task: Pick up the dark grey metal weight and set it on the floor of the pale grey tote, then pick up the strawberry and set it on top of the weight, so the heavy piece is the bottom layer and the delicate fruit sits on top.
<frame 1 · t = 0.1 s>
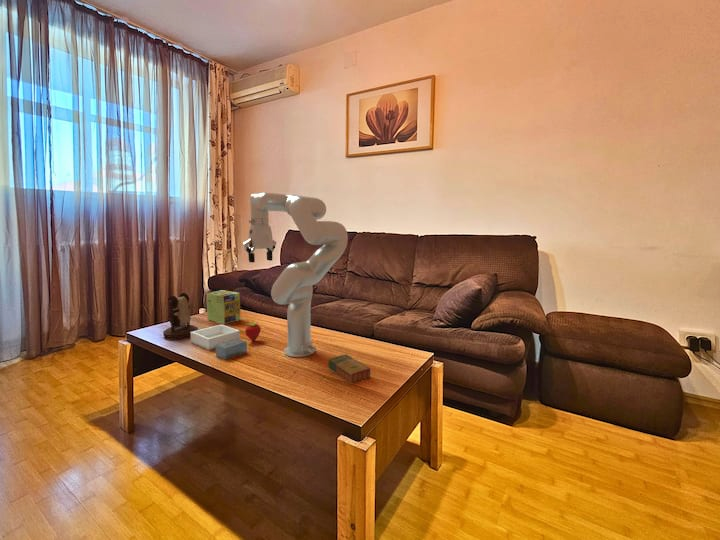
hand: (260, 261, 155), 37 cm above the table, tool pointing down, fingers open, 9 cm apart
metal weight: (231, 354, 142), on the table
tote: (215, 341, 156), on the table
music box: (181, 335, 165), on the table
strawberry: (253, 341, 158), on the table
carton: (348, 374, 126), on the table
protein box: (224, 320, 191), on the table
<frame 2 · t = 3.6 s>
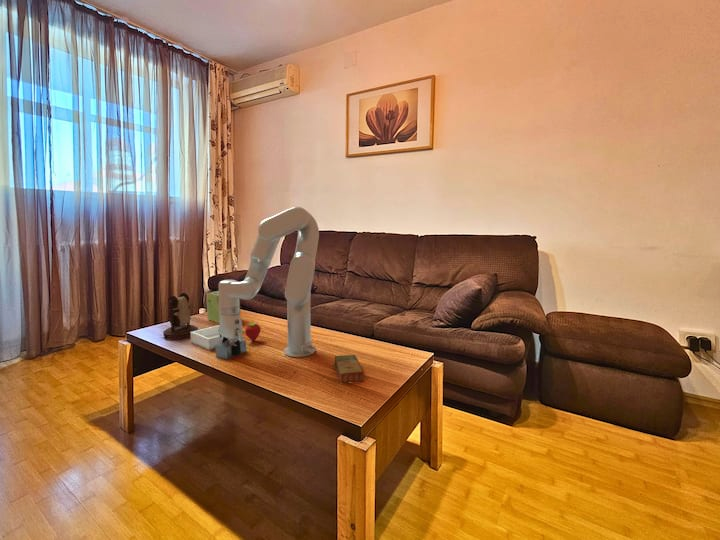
hand: (231, 352, 142), 1 cm above the table, tool pointing down, fingers closed on metal weight, 7 cm apart
metal weight: (231, 354, 142), on the table, touching gripper
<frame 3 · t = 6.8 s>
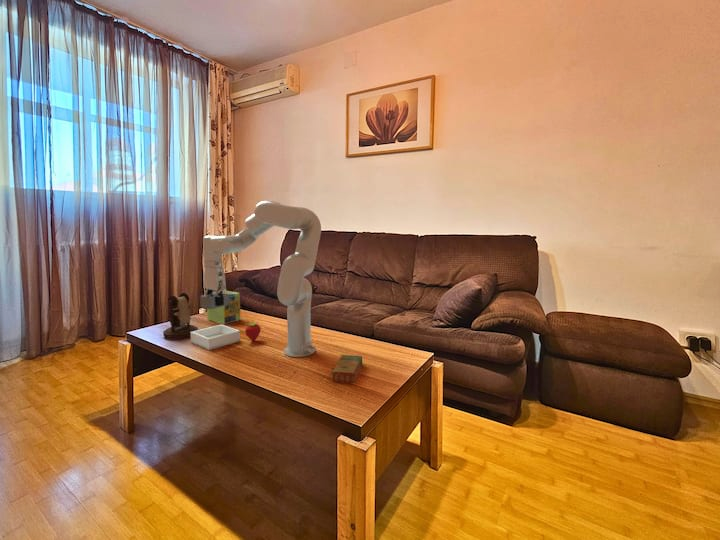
hand: (215, 303, 152), 18 cm above the table, tool pointing down, fingers closed on metal weight, 7 cm apart
metal weight: (215, 305, 153), point 17 cm above the table, touching gripper
when the fingers open (4 cm above the table, at t = 10.2 s): metal weight drops 2 cm, resting on tote.
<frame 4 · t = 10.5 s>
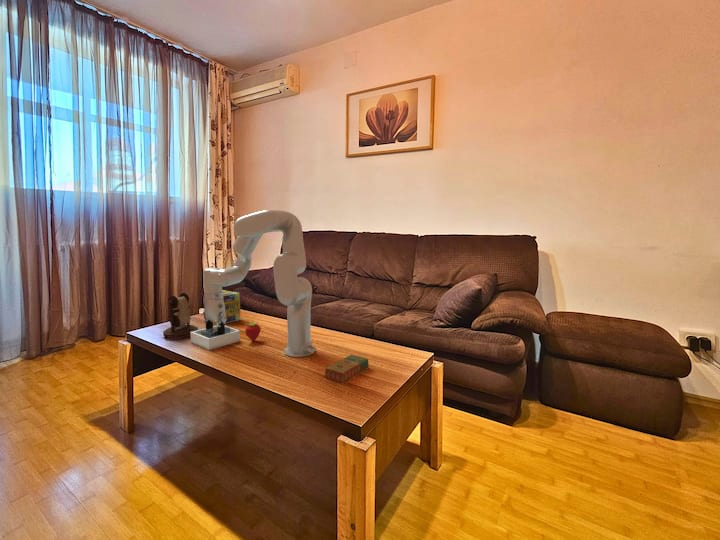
hand: (215, 332, 156), 4 cm above the table, tool pointing down, fingers open, 9 cm apart
metal weight: (216, 339, 156), point 1 cm above the table, touching tote
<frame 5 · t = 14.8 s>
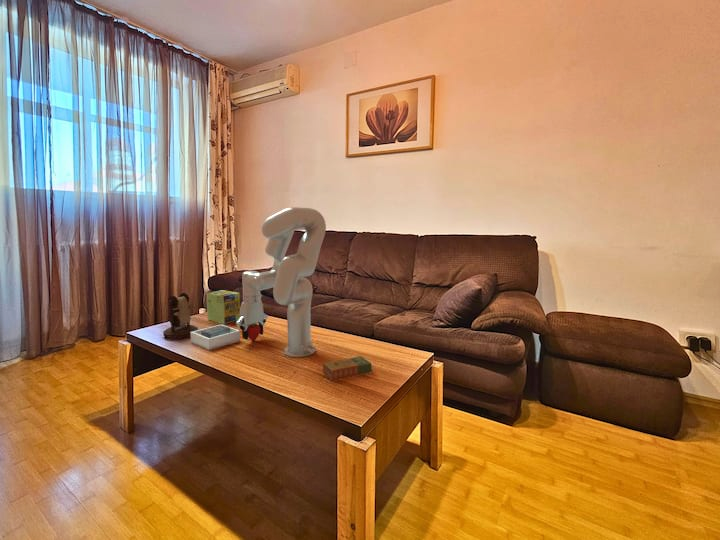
hand: (253, 336, 157), 2 cm above the table, tool pointing down, fingers closed on strawberry, 7 cm apart
strawberry: (253, 341, 158), on the table, touching gripper
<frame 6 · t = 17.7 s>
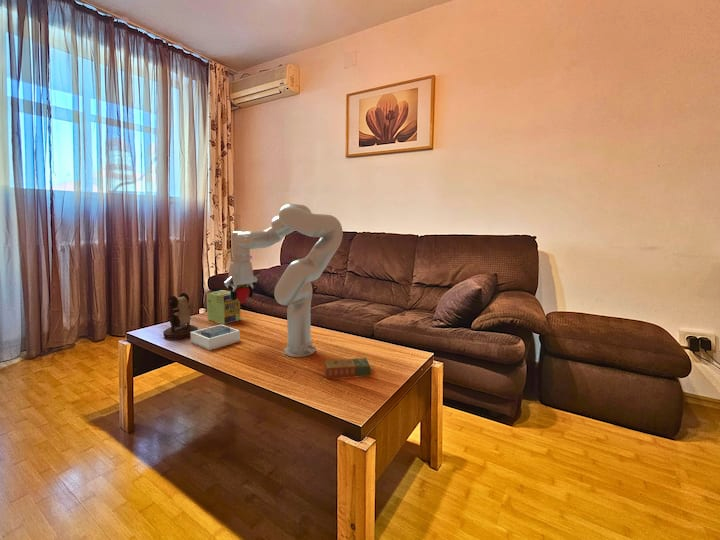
hand: (241, 298, 155), 20 cm above the table, tool pointing down, fingers closed on strawberry, 7 cm apart
strawberry: (242, 303, 155), point 18 cm above the table, touching gripper
when the fingers open (10 cm above the table, at t = 20.9 s): strawberry drops 1 cm, resting on metal weight.
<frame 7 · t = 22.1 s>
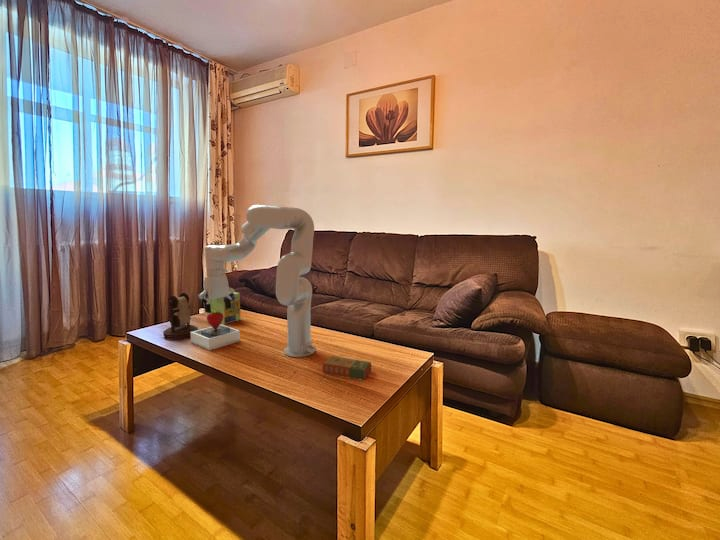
hand: (218, 310, 156), 14 cm above the table, tool pointing down, fingers open, 9 cm apart
metal weight: (216, 339, 156), point 1 cm above the table, touching strawberry, tote
strawberry: (215, 329, 155), point 6 cm above the table, touching metal weight
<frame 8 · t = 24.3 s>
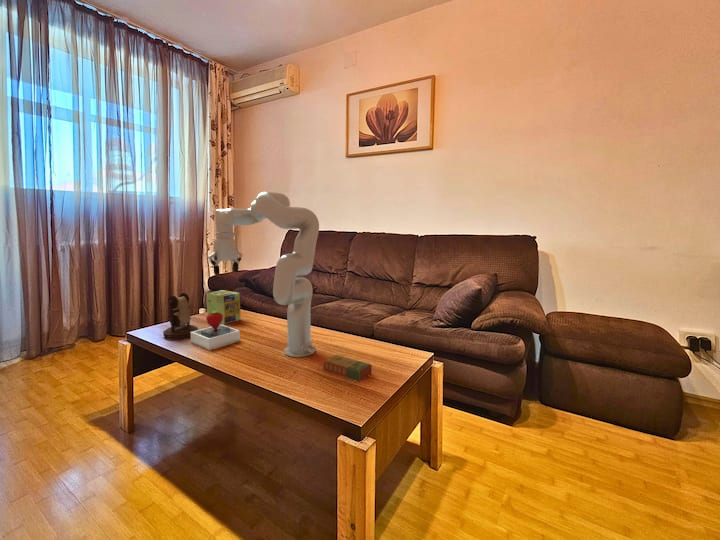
hand: (226, 272, 161), 30 cm above the table, tool pointing down, fingers open, 9 cm apart
at the end: metal weight inside the target area on the tote (0.2 cm from its centre), point 1.0 cm above the tote's base; strawberry inside the target area on the tote (0.2 cm from its centre), point 5.8 cm above the tote's base; strawberry tilted 0° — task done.
